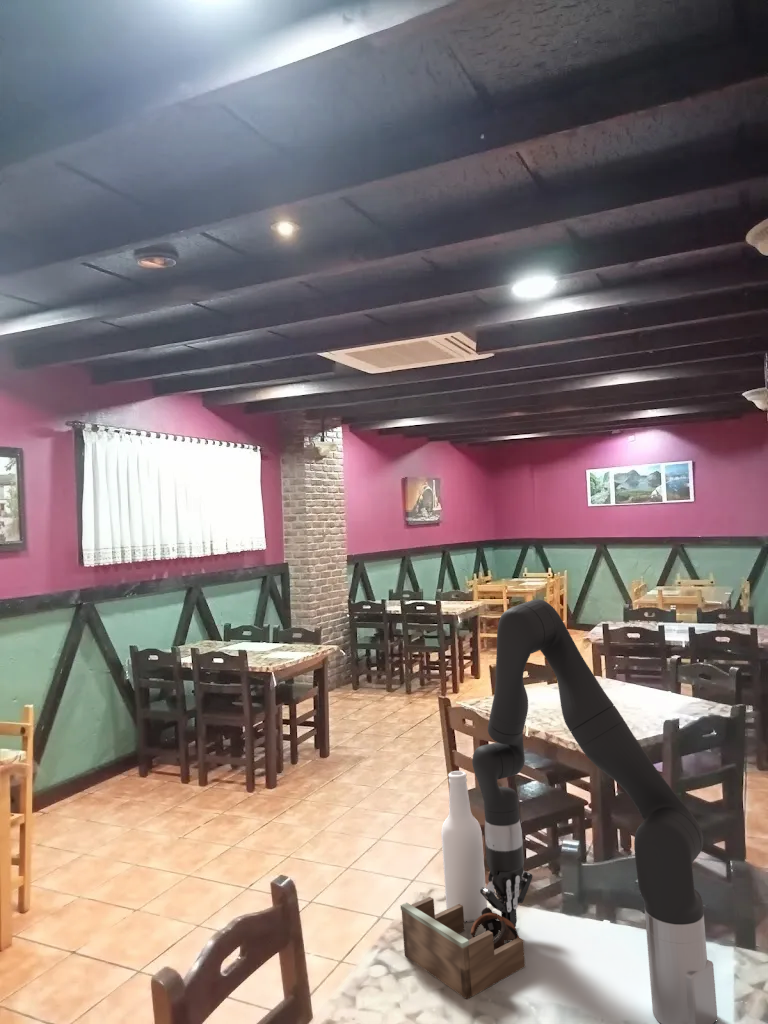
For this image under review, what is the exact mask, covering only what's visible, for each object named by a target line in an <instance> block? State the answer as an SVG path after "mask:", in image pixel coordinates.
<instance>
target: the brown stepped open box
mask: <svg viewBox="0 0 768 1024" xmlns="http://www.w3.org/2000/svg"><path fill="white" fill-rule="evenodd" d="M399 907H400V911H401V919H402V921H401V922H402V923H401V924H402V934H403V935H402V936H403V950H404V952H403V953H404V956H405V957H406V958H407V959H409V960H410V961H412V962H413V963H414V964H416V965H418V966H419V967H420V968H422V969H423V970H425V971H426V972H427V973H429V974H430V975H432V976H433V977H434V978H436V979H438V980H439V982H442V983H443V984H445V985H446V986H447V987H449V988H450V989H451V990H453V991H454V992H456V993H457V994H459V995H460V996H462V998H464V999H466V1000H468V999H470V998H472V997H474V996H476V995H477V994H480V992H483V991H484V990H487V989H488V988H490V987H492V986H493V985H495V984H498V982H500V981H502V980H504V979H506V978H507V977H509V976H511V975H513V974H516V972H518V971H520V970H522V969H523V968H525V967H526V959H525V957H526V956H525V946H524V945H525V943H524V939H523V938H521V937H520V936H519V937H520V938H519V937H518V938H516V939H514V940H512V941H511V940H510V941H508V942H507V943H505V945H503V946H501V947H499V948H497V949H495V950H494V942H493V940H494V937H493V933H492V932H490V931H489V930H488V931H484V932H482V933H480V934H478V935H475V937H474V938H472V937H471V938H470V939H468V938H466V937H464V936H463V935H461V934H460V933H462V932H464V931H465V928H466V927H465V922H464V914H463V906H462V905H460V904H458V905H455V906H453V907H451V908H449V909H447V908H446V909H445V910H442V911H440V912H438V913H436V914H435V901H434V898H433V897H431V896H428V897H426V898H424V899H421V900H419V901H417V902H415V903H412V904H411V903H408V902H405V903H403V904H400V906H399Z"/></svg>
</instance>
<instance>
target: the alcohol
mask: <svg viewBox="0 0 768 1024" xmlns="http://www.w3.org/2000/svg"><path fill="white" fill-rule="evenodd" d="M447 775H448V783H449V784H448V785H449V789H448V790H449V791H448V792H449V794H448V795H449V800H448V801H449V803H448V808H449V810H448V816H447V817H446V819H445V820H444V822H443V823H442V826H441V833H440V834H441V849H442V860H443V861H442V865H443V876H444V891H445V892H444V893H445V905H446V906H445V908H446V910H447V909H449V908H451V907H453V906H455V905H458V904H460V905H462V906H463V914H464V923H471V922H470V921H472V922H475V921H476V920H477V919H478V918H479V917H480V916H481V915H482V910H483V909H485V908H488V901H487V900H486V899H485V897H484V896H483V895H482V894H481V893H480V890H481V888H486V886H487V885H486V874H485V872H486V870H485V857H484V846H483V845H484V843H483V832H482V828H481V824H480V822H479V821H478V819H476V817H475V816H474V815H473V813H472V811H471V810H472V809H471V804H470V798H469V797H470V796H469V790H468V783H467V782H468V779H467V773H466V772H465V771H462V770H454V771H453V770H452V771H450V772H449V773H448V774H447ZM466 921H467V922H466Z"/></svg>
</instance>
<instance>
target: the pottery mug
mask: <svg viewBox="0 0 768 1024" xmlns="http://www.w3.org/2000/svg"><path fill="white" fill-rule="evenodd" d="M480 926H482V927H483V929H484V930H485V931H484V932H486V931H488V930H489V931H490V932H492V933H493V938H494V939H493V942H494V950H495V949H497V948H499V947H501V946H503V945H505V944H506V943H505V942H506V941H507V942H510V941H512V940H514V939H516V938H518V937H519V938H521V937H520V936H519V934H518V930H517V928H516V927H515V926H514V925H513V924H512V923H511V922H510V921H509V920H508V919H506V918H504V917H502V916H501V915H500V914H498V913H496V912H493V911H492V909H491V908H490V907H487V908H485V909H483V910H482V915H481V916H480V917H479V918H478V919H477V920H476V921H473V924H472V926H471V928H470V935H471V939H472V938H474V937H476V936H477V935H476V933H477V931H478V929H479V927H480ZM497 935H498V936H497Z"/></svg>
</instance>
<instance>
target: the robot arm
mask: <svg viewBox="0 0 768 1024" xmlns="http://www.w3.org/2000/svg"><path fill="white" fill-rule="evenodd" d="M539 651H540V652H541V653H542V656H544V658H545V659H546V661H547V662H548V664H549V666H550V667H551V669H552V671H553V673H554V676H555V678H556V681H557V686H558V694H559V699H560V701H559V702H560V707H561V713H562V717H563V721H564V723H565V725H566V727H567V729H568V731H569V732H570V734H571V736H572V737H573V739H574V740H575V741H576V743H577V745H578V746H579V748H580V749H581V750H582V753H583V754H584V755H585V756H586V757H587V759H589V760H590V762H592V763H593V764H594V765H595V766H596V767H597V768H599V770H601V771H602V772H603V773H605V774H606V775H607V776H608V777H609V778H610V779H612V780H613V781H614V782H615V783H616V784H618V785H619V786H620V787H621V788H622V789H623V790H624V791H625V792H626V794H627V795H628V796H629V798H630V799H631V801H632V802H633V804H634V805H635V807H636V809H637V811H638V812H639V814H640V816H641V817H642V819H643V821H642V822H641V824H640V825H639V826H638V827H637V829H636V832H635V834H634V841H633V843H634V844H633V846H634V861H635V868H636V876H637V884H638V889H639V893H640V895H641V897H642V900H643V903H644V917H645V930H646V944H647V954H648V955H647V956H648V957H647V958H648V969H649V982H650V993H651V1008H652V1014H653V1016H654V1018H655V1019H656V1021H658V1022H659V1023H660V1024H713V1023H714V1022H715V1021H716V1020H717V1019H719V1017H718V1007H717V997H716V996H717V995H716V982H715V981H716V980H715V971H714V963H713V961H711V960H709V959H708V954H707V941H706V940H707V938H706V928H705V927H706V926H705V915H704V902H703V898H702V896H701V893H700V892H699V891H698V890H696V889H695V885H694V883H695V882H694V874H693V873H694V871H693V862H695V860H696V859H697V858H698V857H699V855H700V854H701V852H702V850H703V847H704V835H703V831H702V828H701V826H700V824H699V822H698V821H697V819H696V817H695V816H694V815H693V814H692V812H691V811H690V810H689V808H688V807H687V806H686V805H685V803H684V802H683V800H682V799H680V798H679V796H678V795H677V793H675V791H674V790H673V789H672V787H671V786H670V785H669V784H668V783H667V781H666V780H665V779H664V778H663V776H662V775H661V773H660V772H659V771H658V769H657V768H656V766H655V765H654V764H653V762H652V760H651V758H650V757H649V756H648V754H647V753H646V751H645V750H644V748H643V747H642V746H641V744H640V743H639V741H638V740H637V738H636V737H635V735H634V733H633V732H632V730H631V728H630V727H629V726H628V724H627V722H626V720H625V719H624V718H623V716H622V715H621V713H620V712H619V710H618V708H617V707H616V706H615V705H614V703H613V701H612V700H611V699H610V697H609V696H608V695H607V694H606V692H605V690H604V688H602V686H601V684H600V682H599V681H598V679H597V678H596V677H595V675H594V674H593V672H592V671H591V668H590V667H589V665H588V664H587V662H586V661H585V659H584V657H583V656H582V654H581V652H580V650H579V648H578V647H577V645H576V643H575V641H574V640H573V638H572V635H571V634H570V632H569V630H568V628H567V626H566V625H565V623H564V621H563V619H562V617H561V616H560V614H559V613H558V611H557V610H556V609H555V608H554V606H553V605H551V604H550V602H549V603H548V602H547V601H546V600H544V599H539V598H537V599H531V600H530V601H526V602H522V603H520V604H518V605H514V606H512V607H510V608H508V609H507V610H505V611H504V612H503V613H502V615H500V618H499V619H498V624H497V632H496V658H495V685H494V693H493V699H492V704H491V709H490V714H489V719H488V725H487V732H488V735H489V737H490V738H491V739H492V740H493V741H495V742H494V743H489V744H484V745H483V744H482V745H480V746H477V748H476V749H475V750H474V752H473V755H472V759H471V761H472V762H471V763H472V768H473V772H474V775H475V777H476V780H477V782H478V787H479V789H480V794H481V796H482V799H483V809H484V840H485V841H484V842H485V843H484V844H485V854H486V855H485V856H486V864H487V867H488V871H489V874H488V878H487V879H488V883H487V885H486V888H481V890H480V893H481V894H482V895H483V896H484V897H485V899H486V900H487V903H489V904H490V906H491V907H493V909H495V910H497V911H499V912H500V913H501V915H500V916H502V917H504V918H506V919H508V920H509V921H510V922H511V923H512V924H513V925H514V926H515V928H516V927H517V922H518V918H517V916H518V915H517V909H518V905H519V904H523V903H524V900H525V898H526V895H527V892H528V890H529V887H530V885H531V882H532V880H533V874H532V873H530V872H528V871H525V870H524V865H525V858H524V842H523V833H522V832H523V830H522V827H521V825H522V824H521V819H520V818H521V817H520V808H519V807H520V806H519V795H518V793H517V792H516V790H515V789H513V788H512V787H507V786H499V785H498V780H502V779H505V778H509V777H514V776H517V775H518V774H519V773H520V772H521V771H522V769H523V768H524V767H525V759H526V757H525V749H524V733H523V732H524V729H525V725H526V721H527V717H528V712H529V699H528V698H529V696H528V693H527V690H526V687H525V682H524V674H525V673H524V672H525V668H526V666H527V663H528V661H529V659H530V657H531V656H530V655H531V654H535V653H536V652H539ZM716 1022H717V1021H716ZM716 1022H715V1023H716ZM715 1023H714V1024H715Z"/></svg>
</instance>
